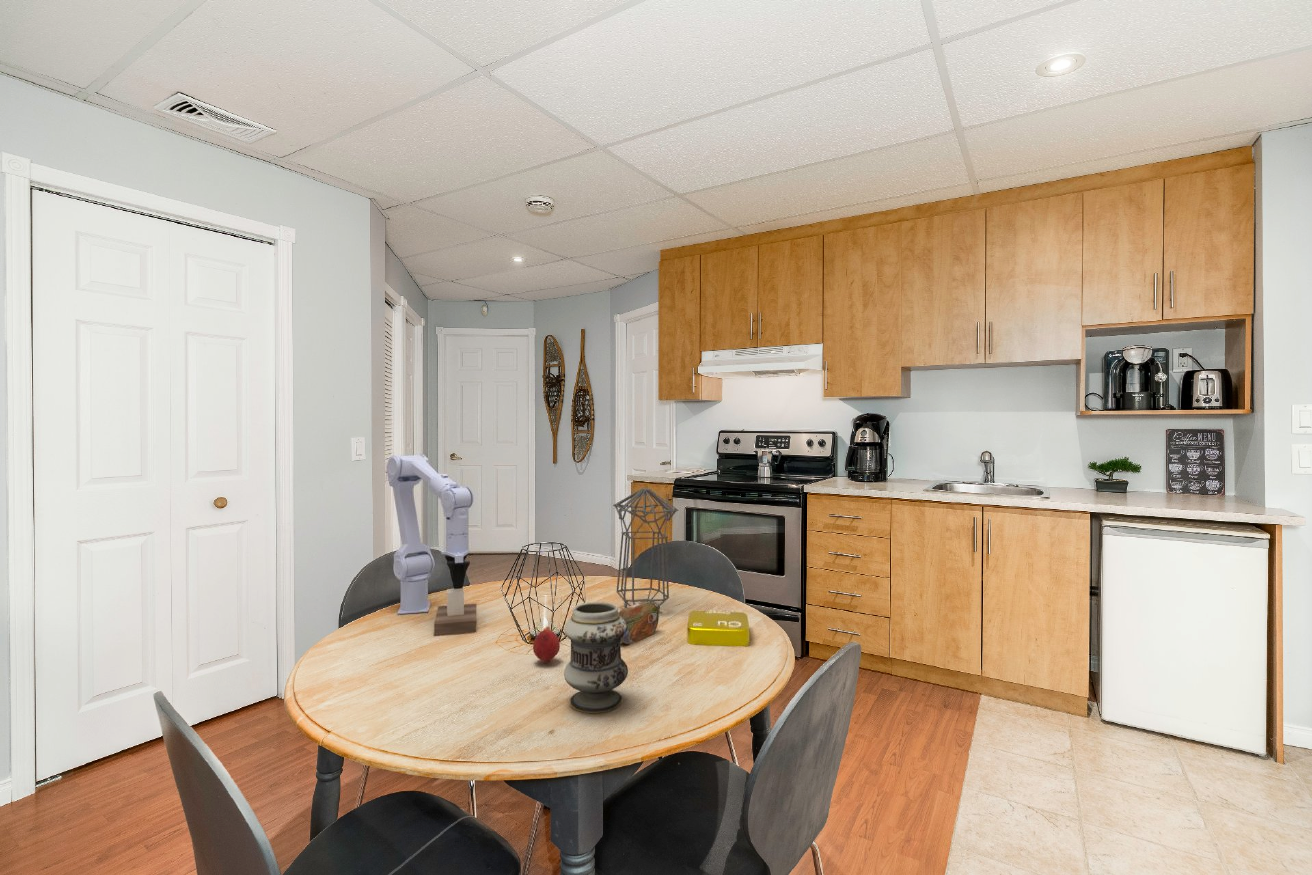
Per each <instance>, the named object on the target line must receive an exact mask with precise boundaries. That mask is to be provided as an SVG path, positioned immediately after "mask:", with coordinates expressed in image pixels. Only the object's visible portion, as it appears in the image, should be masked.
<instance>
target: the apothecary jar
mask: <svg viewBox="0 0 1312 875" xmlns="http://www.w3.org/2000/svg"><path fill="white" fill-rule="evenodd" d="M563 630H564V634H565V637H567V638H568V639H569V640H570V661H569V662H568V663H567V664H566V666H565V668H564V670H563V676H564V680H565V682H566V683H567V684H568V686H570V687H571V688H573V689H574V690H577V692H576V693H574V694H573V695H572V696H571V698H570V700H569V704H570V707H571V708H572V709H573V710H575V711H577V712H581V713H585V714H601V713H608V712H610V711H613V710H615V709H617V708H619V707H620V706H621V704H622V702H623V696H622V695H621V693H619V692H618V691H616V690H614V689H616V688H618V687H619V686H620V685H621V684H623V683H624V682H625V680H626V679H627V678H628V674H629V669H628V665H627V663H626V662H625V660H624V659H622V651H621V650H622V649H621V647H622V646H621V638H622V637H623V636H624V635H625V633H626V631H627V624H626V622H625V620H624V619H623V618H622V617H621V616H619V608H618V605H617V604H614V603H613V602H608V601H607V602H606V601H590V602H584V603H580V604H577V605H575V606H574V607H573V609H572V614H571V617H569V619H568V620H567V621H566V622H565V624H564V628H563Z"/></svg>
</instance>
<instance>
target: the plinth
mask: <svg viewBox="0 0 1312 875" xmlns="http://www.w3.org/2000/svg"><path fill="white" fill-rule="evenodd" d="M475 632H476V633H477V603H464V615H454V616H448V615H447V605H439V606H437V611H436V615H435V619H434V622H433V637H436V636H437V637H439V636H440V635H441V636H449V635H450V636H451V635H462V634H463V633H465V634H474V633H475ZM476 633H475V634H476Z"/></svg>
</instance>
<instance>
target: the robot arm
mask: <svg viewBox="0 0 1312 875" xmlns="http://www.w3.org/2000/svg"><path fill="white" fill-rule="evenodd" d="M429 461H430V460H429V458H428V457H426V455H425V454H421V453H420V454H417V455H416V454H415V455H414V454H413V455H396V454H394V455H391V456H390V457H389V459H388V461H387V463H386V473H387V479H388V480H387V481H388V485H389V486H390V487H391V488H392V490H393V492H392V493H393V496H394V497H393V500H394V503H395V509H396V516H397V517H396V518H397V522H398V528H399V529H398V530H399V535H400V542H401V546H400V547H399V549H397V550H396V551H395V552H394V554H393V564H392V565H393V567H392V568H393V573H394V575H395V577H396V578H397V579H398V580H399V581H400V606H399V609H398V610H397V615H405V614H416V613H417V614H419V613H427V612H429V610H430V606H431V601H429V600H428V599H429V596H428V595H429V583H428V581H429V580H428V579H429V578H430V577H431V574H432V573H433V572H434V569H435V568H436V567H435V566H436V564H435V559H434V556H433V555H432V552H431V548H430V546H428V545H427V544H425V543H424V542H422V539H421V533H420V528H419V521H418V514H417V509H416V503H415V498H414V491H413V490H414V487H415V486H416V485H419V484H420V483H421V481H422V480H423V481H424V482H425V483H427V484H428V489H429V490H430V491H431V493H433V494H434V495H435V496H436V497H437V498H438V499H440V503H441V507H442V509H443V510H442V511H443V516H444V517H445V549H442V550H440V554H441V555H444V558H445V559H446V565H447V568H448V569H449V573H450V574H449V575H450V579H451V582H452V586H453V589H461V588H463V587H464V585H465V584H464V583H465V579H466V578H465V577H466V573H467V570H468V568H469V566H470V564H471V562H470V560H466V559H467V556H468V554H469V553H470V549H469V523H470V521H469V513H470V512H469V511H470V508H471V507H472V506H473V503H474V494H473V492H472V489H471V488H470V487H469V486H460V485H458V483H457V482H455V481H454V480H452V479H451V477H449V475H448V474H447V473H438V472H437V471H436V470H435V469H434V468H433V467H432V466H431V465H430V462H429ZM463 589H464V588H463Z"/></svg>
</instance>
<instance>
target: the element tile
mask: <svg viewBox="0 0 1312 875" xmlns="http://www.w3.org/2000/svg"><path fill="white" fill-rule="evenodd" d="M687 619H688V621H687V626H686V642H687V644H688V645H693V646H707V647H708V646H709V647H710V646H713V647H715V646H716V647H734V646H745V647H748V646H749V645H750V625H749V624H750V623H749V619H748V615H747V613H745V612H742V611H741V612H740V611H738V612H737V611H713V610H712V611H710V610H709V611H708V610H692V611H690V612H689V614H688V618H687ZM748 644H749V645H748ZM747 645H748V646H747Z"/></svg>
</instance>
